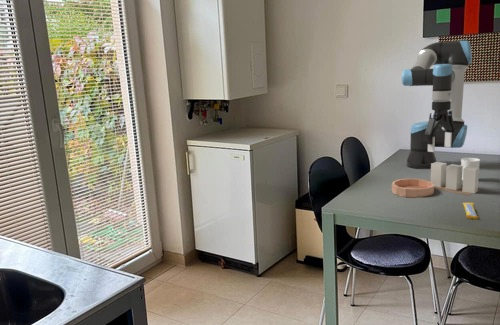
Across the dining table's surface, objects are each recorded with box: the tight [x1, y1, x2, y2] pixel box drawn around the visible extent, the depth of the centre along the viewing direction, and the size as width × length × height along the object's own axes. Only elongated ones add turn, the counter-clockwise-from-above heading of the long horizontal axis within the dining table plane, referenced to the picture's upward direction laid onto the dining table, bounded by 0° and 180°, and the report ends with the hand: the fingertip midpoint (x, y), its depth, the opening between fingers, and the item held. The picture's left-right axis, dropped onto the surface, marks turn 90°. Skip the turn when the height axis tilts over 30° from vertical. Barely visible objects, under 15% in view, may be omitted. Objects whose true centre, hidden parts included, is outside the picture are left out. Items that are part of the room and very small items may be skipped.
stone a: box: [430, 161, 448, 187], centre depth 203 cm, size 4×5×10 cm
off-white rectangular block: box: [446, 163, 463, 190], centre depth 197 cm, size 4×5×10 cm
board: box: [434, 185, 483, 196], centre depth 198 cm, size 12×19×1 cm, turn 38°
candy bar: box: [462, 202, 480, 220], centre depth 170 cm, size 17×4×2 cm, turn 160°
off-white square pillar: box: [462, 167, 480, 194], centre depth 192 cm, size 4×5×10 cm
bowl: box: [391, 178, 435, 199], centre depth 197 cm, size 17×17×4 cm
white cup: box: [460, 157, 481, 181], centre depth 210 cm, size 8×8×10 cm
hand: (439, 149), depth 200 cm, fingers open, 13 cm apart
